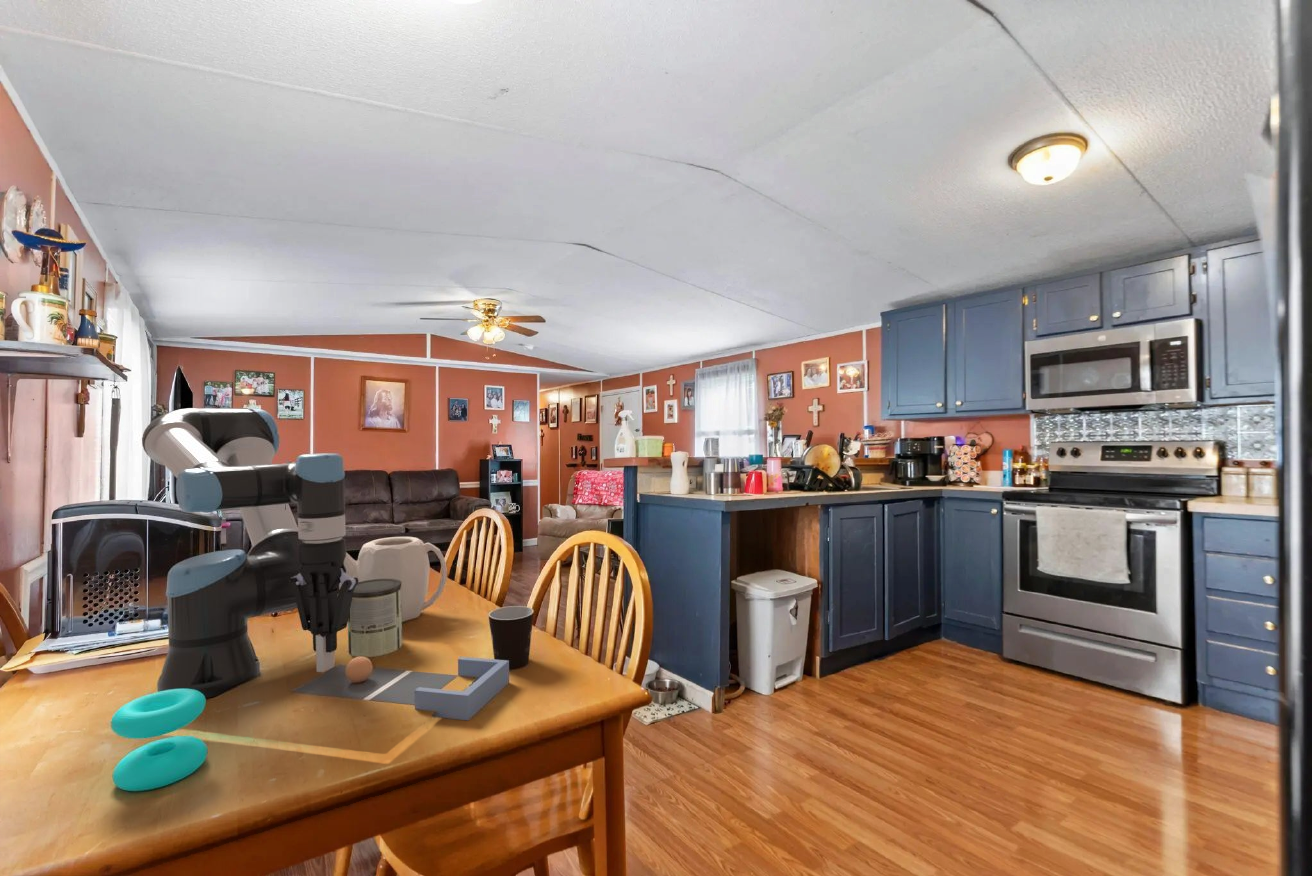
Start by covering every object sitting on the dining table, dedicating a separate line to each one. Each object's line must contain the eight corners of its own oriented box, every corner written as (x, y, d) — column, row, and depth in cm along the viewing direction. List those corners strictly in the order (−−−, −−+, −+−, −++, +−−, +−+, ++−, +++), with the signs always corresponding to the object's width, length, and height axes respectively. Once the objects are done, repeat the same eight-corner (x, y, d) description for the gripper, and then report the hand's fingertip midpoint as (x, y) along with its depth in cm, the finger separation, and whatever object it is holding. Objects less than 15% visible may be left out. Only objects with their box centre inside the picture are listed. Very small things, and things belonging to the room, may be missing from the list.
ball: (339, 685, 108) (339, 661, 108) (357, 675, 113) (356, 651, 112) (361, 687, 107) (361, 662, 107) (378, 677, 112) (377, 653, 111)
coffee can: (338, 654, 126) (337, 586, 125) (387, 640, 134) (386, 575, 133) (362, 666, 119) (360, 594, 119) (412, 651, 127) (411, 583, 127)
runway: (290, 697, 106) (290, 691, 106) (340, 669, 118) (340, 664, 118) (419, 711, 101) (419, 705, 101) (458, 680, 112) (458, 675, 112)
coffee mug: (523, 673, 115) (522, 620, 115) (481, 670, 117) (480, 618, 117) (546, 650, 127) (546, 602, 126) (507, 648, 128) (507, 600, 128)
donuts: (223, 686, 87) (156, 721, 77) (225, 756, 88) (158, 799, 78) (162, 682, 89) (89, 715, 79) (165, 750, 89) (92, 792, 79)
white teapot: (340, 612, 154) (338, 537, 153) (451, 604, 159) (450, 532, 158) (319, 633, 138) (316, 549, 138) (443, 624, 144) (441, 544, 143)
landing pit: (414, 714, 99) (414, 690, 99) (461, 677, 113) (461, 656, 113) (468, 720, 97) (467, 695, 97) (509, 682, 111) (508, 660, 111)
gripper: (274, 542, 108) (278, 674, 109) (338, 544, 106) (341, 680, 106) (307, 534, 116) (310, 658, 116) (367, 536, 113) (371, 663, 114)
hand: (325, 668), depth 111 cm, fingers closed
